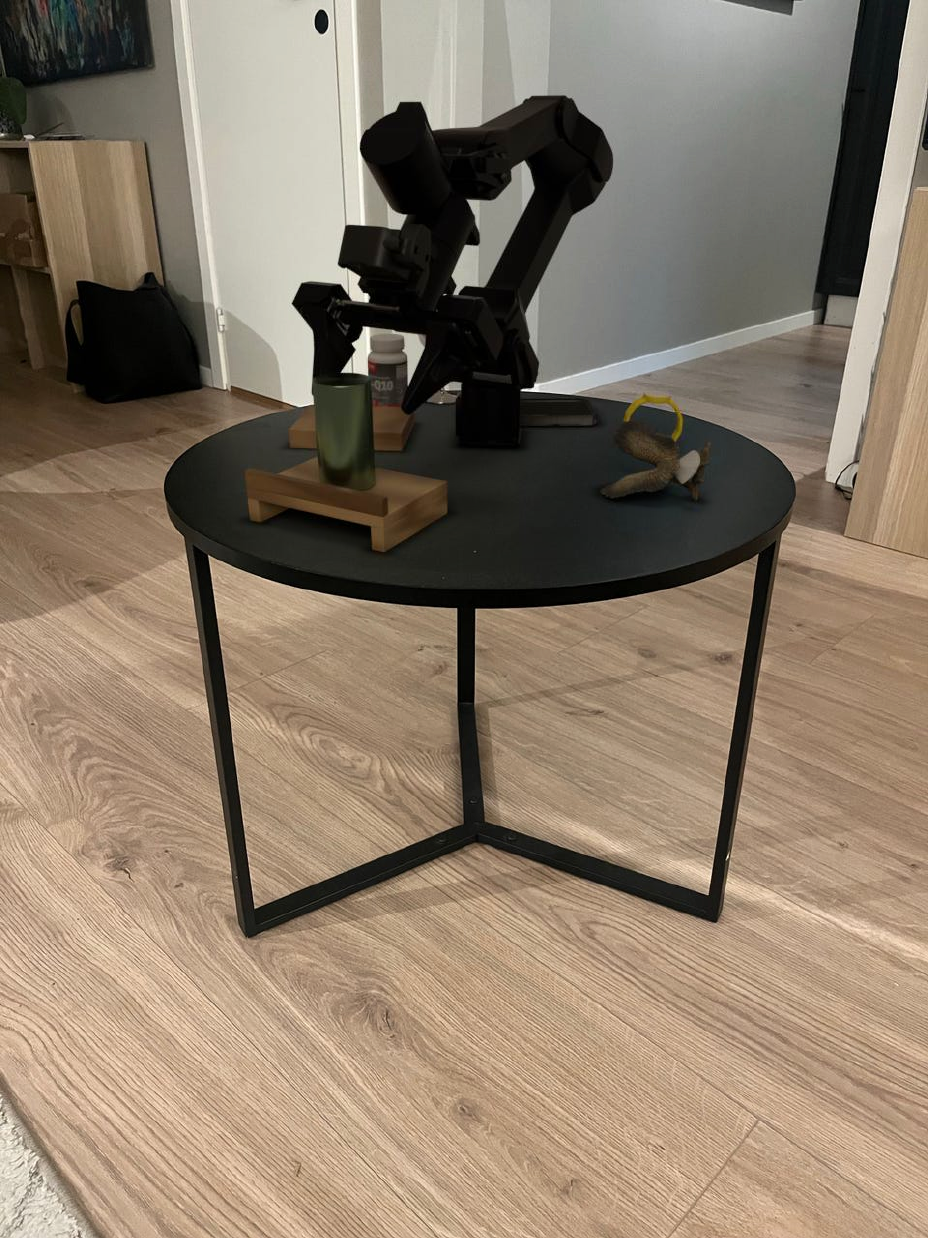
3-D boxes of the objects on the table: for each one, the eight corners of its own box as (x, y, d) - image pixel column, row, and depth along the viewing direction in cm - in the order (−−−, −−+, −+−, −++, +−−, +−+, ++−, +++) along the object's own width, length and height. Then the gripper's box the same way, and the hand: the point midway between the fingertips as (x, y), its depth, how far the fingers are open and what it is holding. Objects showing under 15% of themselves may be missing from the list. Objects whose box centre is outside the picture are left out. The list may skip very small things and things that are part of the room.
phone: (464, 398, 114) (588, 397, 114) (464, 408, 115) (588, 407, 115) (465, 416, 107) (598, 415, 107) (465, 426, 108) (598, 425, 108)
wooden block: (414, 424, 109) (414, 407, 108) (402, 451, 100) (401, 432, 99) (310, 421, 109) (309, 404, 109) (289, 447, 101) (288, 429, 100)
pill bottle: (361, 409, 114) (358, 337, 110) (383, 400, 118) (381, 331, 114) (394, 414, 112) (392, 342, 108) (415, 405, 116) (414, 335, 112)
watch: (623, 453, 99) (628, 396, 97) (619, 445, 102) (624, 389, 99) (680, 453, 99) (687, 396, 97) (675, 445, 102) (682, 390, 99)
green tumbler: (379, 475, 84) (375, 372, 80) (370, 494, 79) (365, 386, 75) (326, 474, 84) (319, 371, 80) (314, 492, 80) (306, 385, 76)
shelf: (320, 486, 90) (317, 440, 88) (447, 513, 84) (447, 464, 82) (249, 520, 82) (244, 470, 80) (384, 552, 76) (382, 499, 74)
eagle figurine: (700, 469, 91) (609, 446, 92) (721, 420, 85) (623, 396, 86) (687, 532, 88) (592, 508, 89) (708, 487, 81) (605, 461, 82)
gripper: (296, 181, 81) (221, 335, 78) (489, 188, 73) (415, 361, 69) (355, 268, 91) (290, 409, 87) (530, 283, 83) (467, 439, 79)
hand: (359, 404), depth 81 cm, fingers open, 9 cm apart
